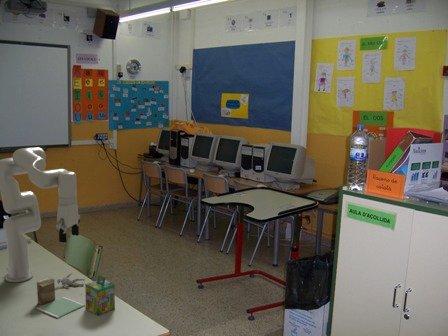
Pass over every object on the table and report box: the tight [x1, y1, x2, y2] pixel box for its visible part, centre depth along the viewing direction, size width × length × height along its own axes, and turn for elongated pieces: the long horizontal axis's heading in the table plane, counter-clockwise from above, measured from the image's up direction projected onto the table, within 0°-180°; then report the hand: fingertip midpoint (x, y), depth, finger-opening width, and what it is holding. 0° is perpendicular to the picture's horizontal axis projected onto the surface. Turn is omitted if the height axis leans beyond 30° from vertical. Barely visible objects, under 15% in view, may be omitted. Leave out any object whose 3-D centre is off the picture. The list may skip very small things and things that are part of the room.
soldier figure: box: [56, 272, 86, 289], centre depth 227 cm, size 8×5×12 cm
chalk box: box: [84, 274, 116, 316], centre depth 203 cm, size 9×9×15 cm
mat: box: [35, 296, 85, 320], centre depth 204 cm, size 14×14×1 cm
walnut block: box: [36, 276, 56, 306], centre depth 209 cm, size 4×6×10 cm
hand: (69, 238), depth 206 cm, fingers open, 9 cm apart
